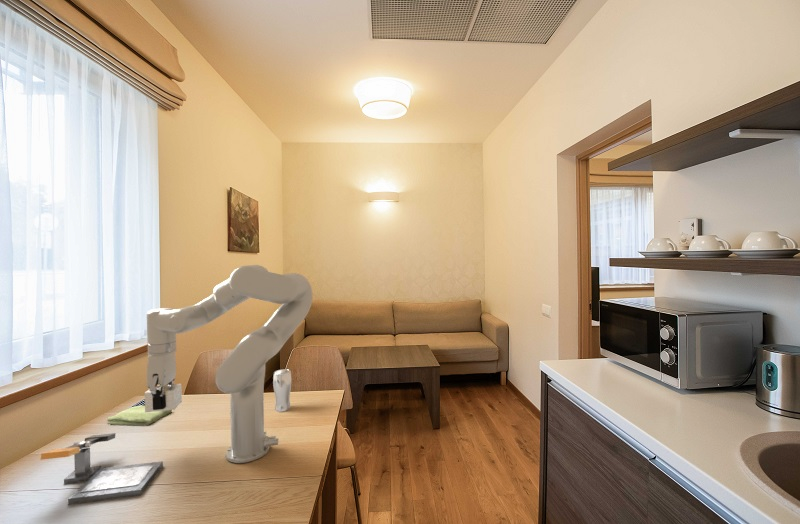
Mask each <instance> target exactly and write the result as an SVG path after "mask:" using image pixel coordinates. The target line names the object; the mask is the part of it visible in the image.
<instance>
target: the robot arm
mask: <svg viewBox="0 0 800 524" xmlns="http://www.w3.org/2000/svg"><path fill="white" fill-rule="evenodd" d="M212 290H213V293H212V294H211V295H210V296H208V297H206V298H204V299H203V300H202V301H200V302H198V303H196V304H193V305H188V306H185V307H180V308H177V309H176V308H175V309H174V308H172V307H160V308H153V309H150V310H148V311H147V313H146V335H147V336H146V339H147V340H146V341H147V342H146V343H147V355H148V358H147V365H146V387H147V388H148V390H149V391H150V392H151V394H152V398H153V410H160V409H164V408H165V395H164V387H165V385H170V384H175V379H176V376H177V361H176V360H177V358H176V352H177V350H178V349H177V334H184V333H188V332H190V331H192V330H196V329H198V328H201V327H203V326H206V325H208V324H209V323H211V322H213V321H215V320H216V319H218V318H220V317H222V316H223V315H225V314H226V313H227V312H229V311H231V310H232V309H233V308H235V307H237V306H238V305H240V304H242V303H244V302H245V301H247V300H249V299H251V298H252V299H255V300H259V301H262V302H263V301H264V302H268V303H273V304H279V305H280V306H279V307H278V308H276V310H274V312H273V314H272V315H271V316H270V317H269V318H268V320H267V321H266V322H265V323H264V324H263V325H262V326H261V327H259V328H258V329H256V330H254V331H252V332H250V333H248V334H247V335H246V336H244V337H243V338H242V339H241V340H240V341H239V343H237V344H236V346H235V347H234V348H233V349H232V351H230V353H229V354H228V356H226V358H225V359H224V360H223V362H221V364H220V365H219V366H218V368H217V370H216V373H215V378H214V379H215V384H216V385H215V386H216V387H217V389H219V391H221V392H222V393H225V394H228V395H229V394H230V446H229V447H228V449H227V450H226V451H225V459H226V460H227V461H228V462H231V463H236V464H243V463H249V462H253V461H256V460H258V459H261V457H263V456H265V455H266V454H267V453H268V452H269V451H270V446H278V445H279V442H280V440H279V438H276V437H277V435H271V436H269V435H267V431H265V421H264V420H265V417H264V416H265V415H264V412H265V411H264V406H265V405H264V403H265V402H264V395H265V393H264V386H265V377H266V363H267V362H268V361H269V360H271V359H272V358H273V357H274V356H276V355H277V354H278V353H279V352H280V350H281V349H282V348H283V347H284V345H285V343H286V342H287V341H288V340H289V338H290V337H291V336H292V335H293V334H294V332H295V331H296V330H297V328H299V326H300V325H301V324H302V322H303V321H304V319H306V317H307V315H308V313H309V312H310V309H311V307H312V304H313V303H312V302H313V290H312V286H311V284H310V282H309V280H308V279H307V278H306V277H305V276H304V275H303V274H300V273H296V272H295V273H294V272H293V273H286V274H280V273H275V272H271V271H269V270H268V269H267V268H266V267H264V266H262V265H260V264H251V265H242V266H239V267H237V268H235V269H234V270H233V271H232V272H231V274H230V276H229V278H227V279H225V280H224V281H222V282H221V283H219V284H217V285H215V286H214V288H213V289H212ZM160 384H161V386H159V385H160ZM157 388H161V391H159V390H157ZM163 395H164V396H163Z"/></svg>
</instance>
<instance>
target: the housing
mask: <svg viewBox="0 0 800 524" xmlns="http://www.w3.org/2000/svg"><path fill="white" fill-rule="evenodd" d="M158 386H161V384H158ZM182 389H183V388H182V383H174V384H170V385H165V387H164V395H165V408H164V409H160V410H153V398H152V394H151V392H150V391H149V389H148V390H146V391H145V392H144V406H145V412H155V411H165V410H172V411H174V410H175V409H176V408H178V406H179V405H180V404H181V403H182V402H183V398H182V397H183V396H182V393H183V391H182ZM157 390H159V391H161V388H157ZM164 395H163V396H164Z"/></svg>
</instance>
